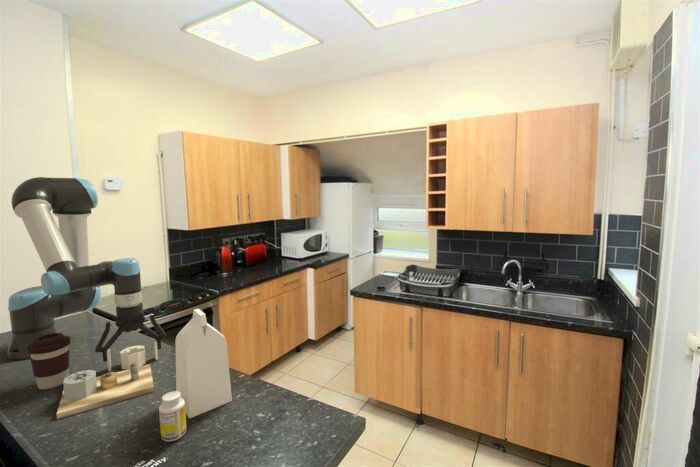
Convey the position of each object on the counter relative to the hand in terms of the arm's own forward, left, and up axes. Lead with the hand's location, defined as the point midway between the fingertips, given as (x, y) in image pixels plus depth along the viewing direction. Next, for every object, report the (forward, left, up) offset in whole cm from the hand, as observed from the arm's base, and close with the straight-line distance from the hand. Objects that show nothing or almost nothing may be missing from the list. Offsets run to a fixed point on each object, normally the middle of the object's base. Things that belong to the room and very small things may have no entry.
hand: (134, 363), depth 115 cm
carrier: (+14, -7, 0) cm, 16 cm away
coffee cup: (0, -21, 0) cm, 21 cm away
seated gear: (+14, -13, +1) cm, 19 cm away
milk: (+35, +16, 0) cm, 38 cm away
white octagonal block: (0, 0, 0) cm, 0 cm away
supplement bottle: (+46, +7, 0) cm, 46 cm away
